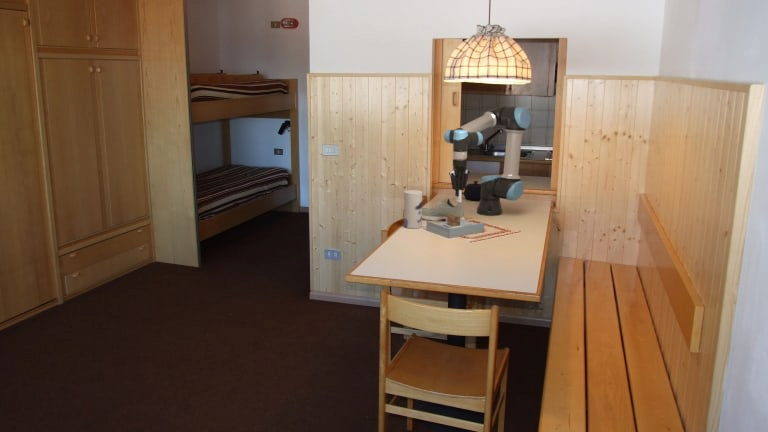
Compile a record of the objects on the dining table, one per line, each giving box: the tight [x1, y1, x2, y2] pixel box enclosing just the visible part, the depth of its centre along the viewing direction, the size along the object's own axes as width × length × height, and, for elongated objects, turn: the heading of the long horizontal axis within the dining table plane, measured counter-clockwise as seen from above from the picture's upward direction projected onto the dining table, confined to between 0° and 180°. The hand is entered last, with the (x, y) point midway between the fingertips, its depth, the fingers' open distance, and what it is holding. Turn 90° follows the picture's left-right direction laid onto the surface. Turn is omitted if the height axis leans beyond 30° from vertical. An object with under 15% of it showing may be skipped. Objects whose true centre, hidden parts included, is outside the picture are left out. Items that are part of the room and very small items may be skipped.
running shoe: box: [422, 197, 466, 222], centre depth 383 cm, size 11×30×14 cm, turn 63°
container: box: [403, 189, 423, 229], centre depth 367 cm, size 10×10×20 cm
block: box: [447, 215, 460, 227], centre depth 361 cm, size 5×5×5 cm
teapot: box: [462, 180, 481, 202], centre depth 439 cm, size 25×16×12 cm, turn 67°
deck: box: [426, 219, 485, 239], centre depth 360 cm, size 24×20×5 cm
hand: (458, 201), depth 360 cm, fingers closed
